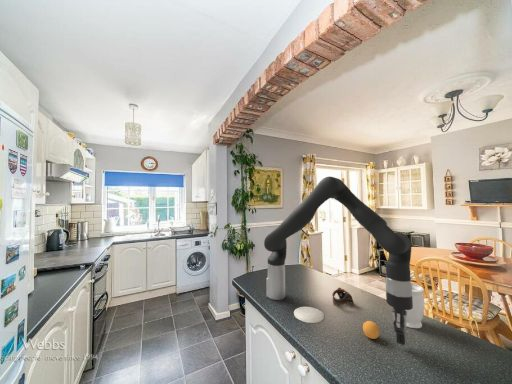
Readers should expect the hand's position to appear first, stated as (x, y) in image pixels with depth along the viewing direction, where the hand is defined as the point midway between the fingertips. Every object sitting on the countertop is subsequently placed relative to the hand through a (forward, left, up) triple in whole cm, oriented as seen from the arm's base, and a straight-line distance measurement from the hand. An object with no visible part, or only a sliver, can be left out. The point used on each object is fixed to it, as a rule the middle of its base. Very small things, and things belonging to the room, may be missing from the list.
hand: (400, 343), depth 70 cm
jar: (+6, +19, -2) cm, 20 cm away
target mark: (-33, +8, -2) cm, 34 cm away
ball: (-9, +2, +1) cm, 9 cm away
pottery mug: (-19, +25, -2) cm, 32 cm away
